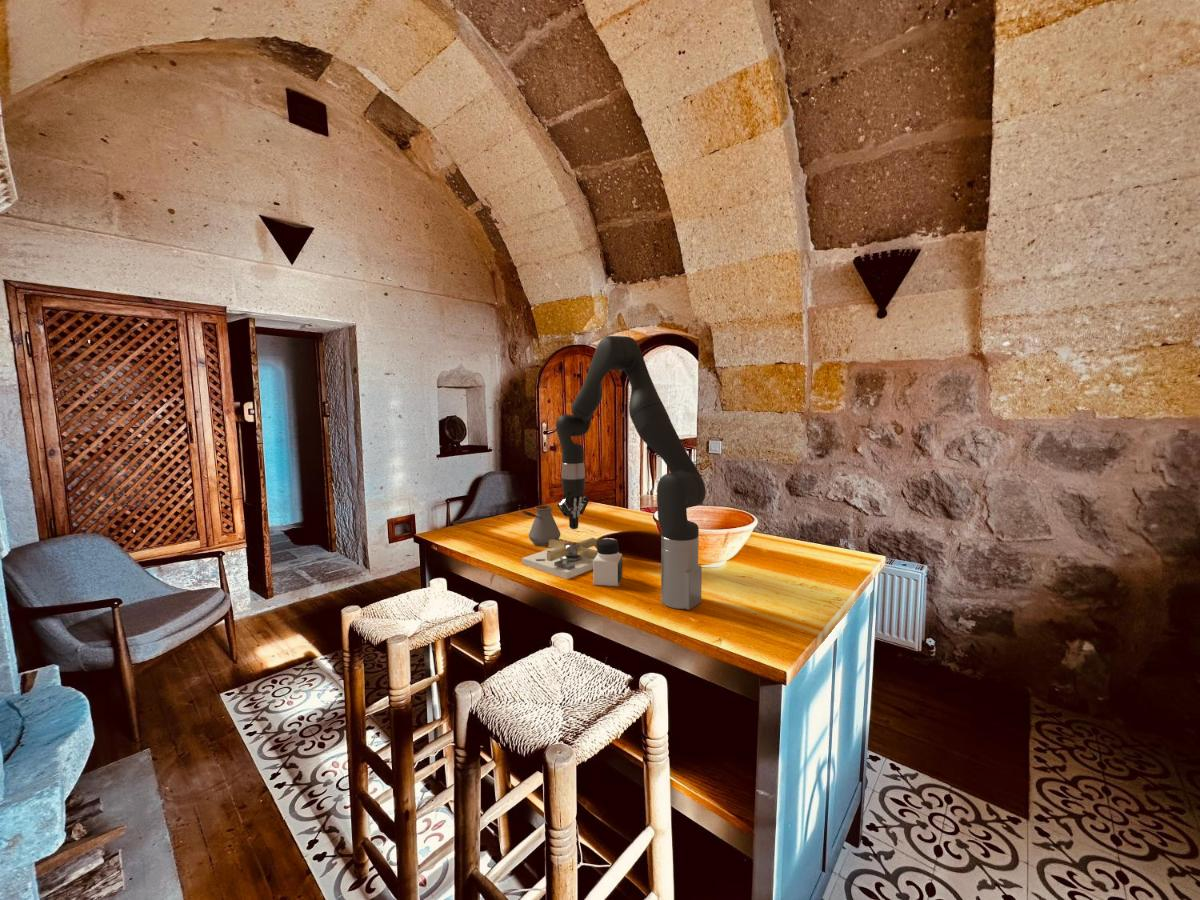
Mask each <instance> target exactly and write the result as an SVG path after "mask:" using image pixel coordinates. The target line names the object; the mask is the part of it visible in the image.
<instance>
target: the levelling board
mask: <svg viewBox="0 0 1200 900" xmlns="http://www.w3.org/2000/svg"><path fill="white" fill-rule="evenodd" d="M554 550H557V549H555V548H551V547H550V548H549V549H545V550H542V551H539V552H536V553H533V554H530V555H527V556H525V557H524V556H523V557H522V558H521V564H522V565H524V566H526V567H529V568H532V569H534V570H538V571H541V572H544V573H547V574H550V575H554V576H556V577H560V578H561V579H566V580H568V579H571V578H574V577H576V576H578V575H582V574H584V573H586V572H588V571H592V570H593V560H594V559H590V558H587V557H583V556H582V559H581V560H578V561H572V562H568V561H562V560H560V558H559V559H556V560H553V561H548V560H547V553H548V552H551V551H554Z"/></svg>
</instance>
